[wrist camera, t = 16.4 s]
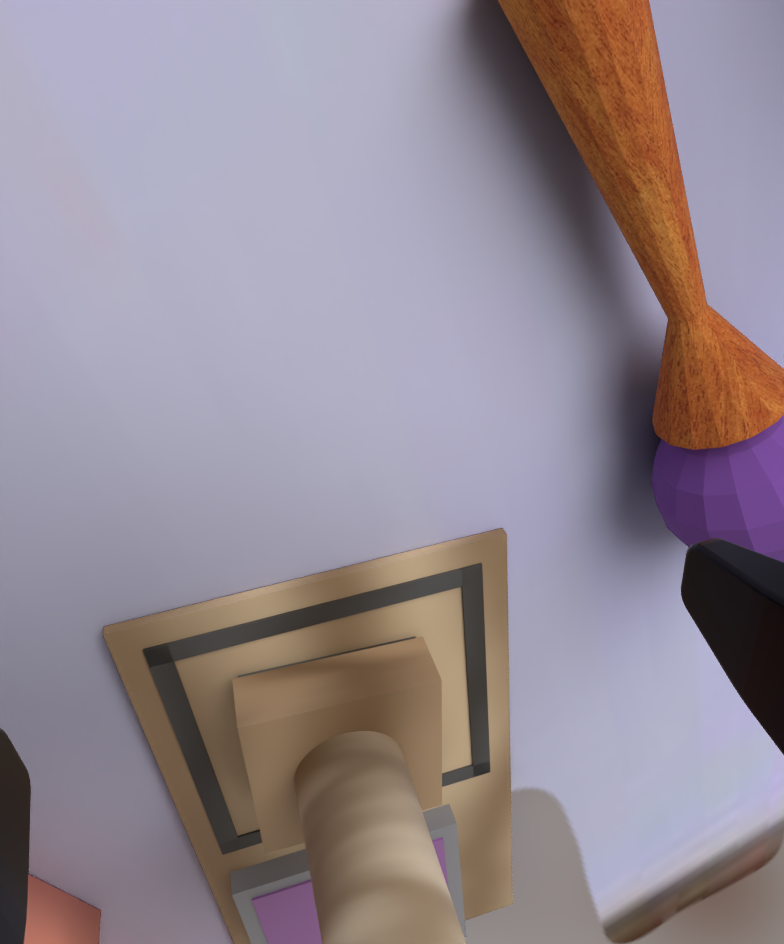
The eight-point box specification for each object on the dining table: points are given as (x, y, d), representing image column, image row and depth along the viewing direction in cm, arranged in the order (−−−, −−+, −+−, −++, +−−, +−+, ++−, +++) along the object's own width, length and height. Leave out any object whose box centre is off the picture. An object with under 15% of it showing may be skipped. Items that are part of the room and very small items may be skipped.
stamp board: (254, 984, 37) (255, 994, 36) (103, 626, 24) (102, 637, 23) (509, 896, 39) (513, 905, 39) (502, 527, 26) (507, 535, 26)
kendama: (759, -208, 14) (910, 518, 23) (572, -95, 19) (759, 461, 29) (519, -40, 13) (778, 635, 23) (393, 29, 18) (648, 555, 28)
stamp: (257, 795, 29) (326, 1357, 17) (231, 672, 26) (293, 1271, 13) (423, 753, 31) (600, 1240, 18) (420, 631, 27) (640, 1133, 14)
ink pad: (272, 981, 36) (275, 1005, 35) (230, 872, 31) (232, 897, 30) (459, 917, 38) (466, 938, 37) (449, 803, 33) (457, 825, 32)
